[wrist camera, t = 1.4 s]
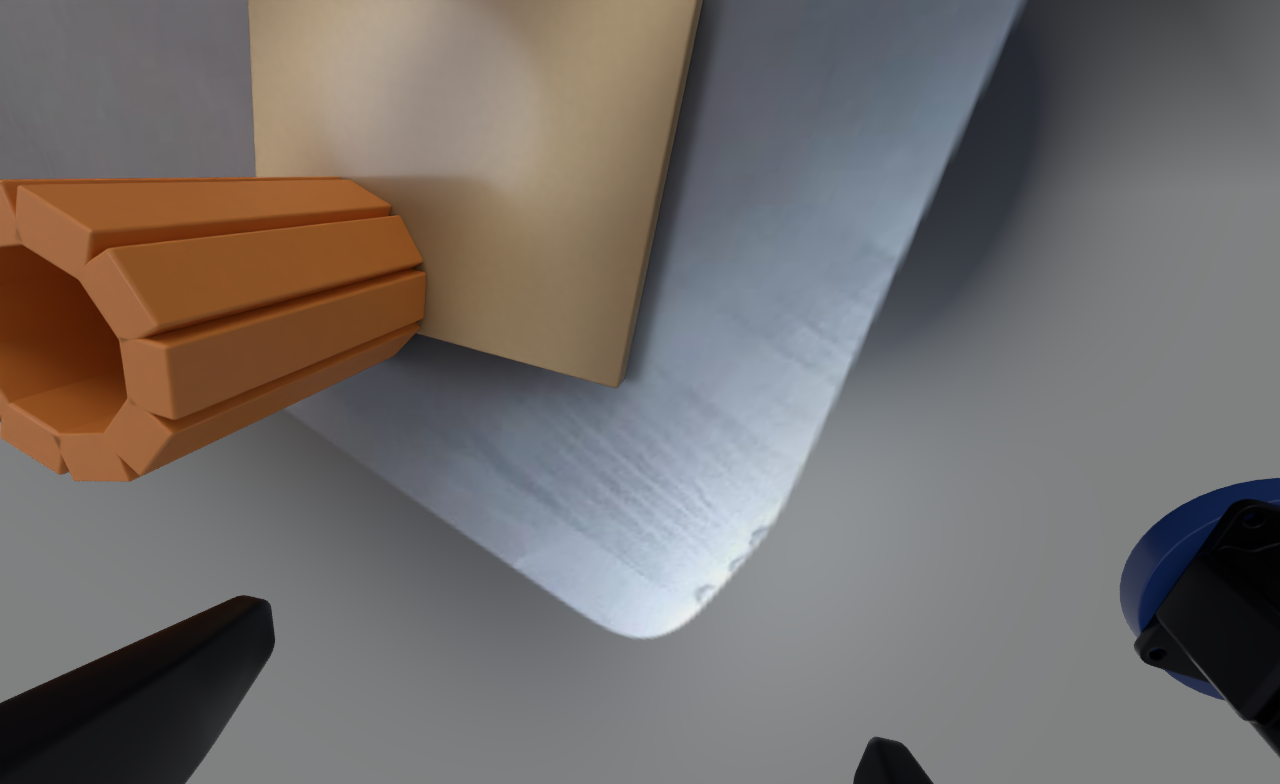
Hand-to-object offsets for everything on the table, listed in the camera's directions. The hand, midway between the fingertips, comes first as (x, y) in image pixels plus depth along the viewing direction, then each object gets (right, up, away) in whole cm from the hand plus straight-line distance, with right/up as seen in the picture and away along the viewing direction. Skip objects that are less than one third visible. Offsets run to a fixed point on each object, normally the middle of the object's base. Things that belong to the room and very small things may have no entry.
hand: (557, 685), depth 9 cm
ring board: (-5, +12, +11) cm, 17 cm away
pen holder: (-9, +8, +12) cm, 18 cm away
